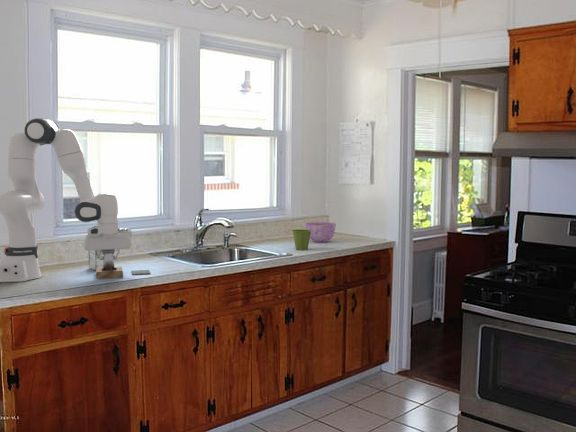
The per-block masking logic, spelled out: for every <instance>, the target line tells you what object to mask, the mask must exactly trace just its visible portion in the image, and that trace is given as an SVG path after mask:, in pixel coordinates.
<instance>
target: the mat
mask: <svg viewBox="0 0 576 432" xmlns="http://www.w3.org/2000/svg"><path fill="white" fill-rule="evenodd" d="M131 275H132V276H140V275H141V276H142V275H151V271H150V270H149V269H140V270H139V269H138V270H131Z"/></svg>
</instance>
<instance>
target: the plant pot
mask: <svg viewBox="0 0 576 432" xmlns="http://www.w3.org/2000/svg"><path fill="white" fill-rule="evenodd" d="M291 232H292V234H293V239H294V246H295V247H294V248H295V250H299V251H306V250H308V249H309V246H310V245H309V244H310V240H311V239H310V235H311V232H312V230H307V229H305V228H304V229H303V228H302V229H300V228H299V229H292V230H291Z"/></svg>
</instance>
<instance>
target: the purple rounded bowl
mask: <svg viewBox="0 0 576 432" xmlns="http://www.w3.org/2000/svg"><path fill="white" fill-rule="evenodd" d="M336 227H337V223H335V222H330V221H329V222H328V221H326V222H325V221H323V222H322V221H321V222H320V221H316V222H315V221H313V222H306V223H305V230H312V232H311V235H310V239H309V240H312V241H313V242H315V243H327V242H328V241H330V240H331V239H333V237H334V234H335V232H336V231H335V230H336Z"/></svg>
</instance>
